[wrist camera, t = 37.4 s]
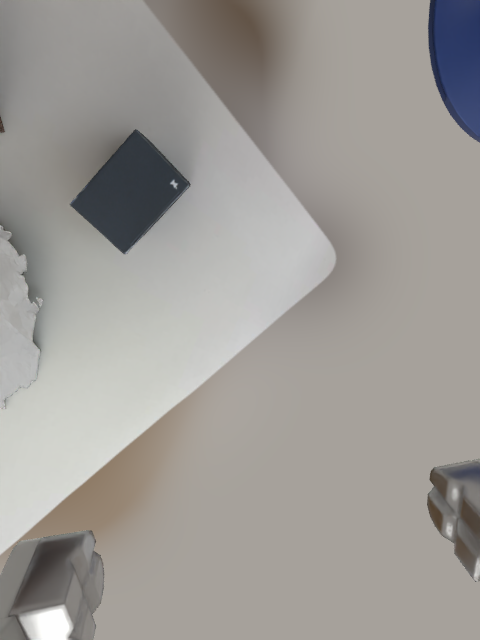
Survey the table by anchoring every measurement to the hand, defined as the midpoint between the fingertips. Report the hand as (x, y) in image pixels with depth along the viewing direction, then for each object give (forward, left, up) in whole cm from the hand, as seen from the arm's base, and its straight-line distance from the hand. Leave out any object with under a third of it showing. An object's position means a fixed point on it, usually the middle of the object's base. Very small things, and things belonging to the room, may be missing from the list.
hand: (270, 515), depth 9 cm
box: (-5, -7, -35) cm, 36 cm away
